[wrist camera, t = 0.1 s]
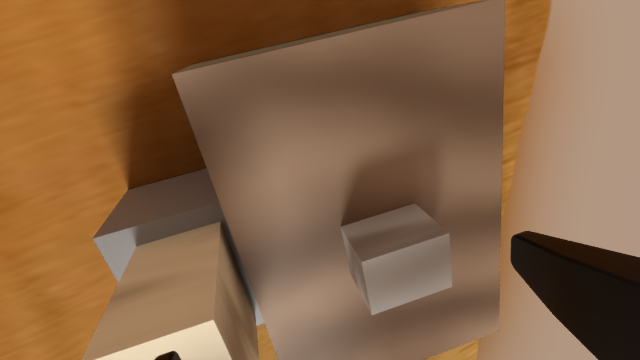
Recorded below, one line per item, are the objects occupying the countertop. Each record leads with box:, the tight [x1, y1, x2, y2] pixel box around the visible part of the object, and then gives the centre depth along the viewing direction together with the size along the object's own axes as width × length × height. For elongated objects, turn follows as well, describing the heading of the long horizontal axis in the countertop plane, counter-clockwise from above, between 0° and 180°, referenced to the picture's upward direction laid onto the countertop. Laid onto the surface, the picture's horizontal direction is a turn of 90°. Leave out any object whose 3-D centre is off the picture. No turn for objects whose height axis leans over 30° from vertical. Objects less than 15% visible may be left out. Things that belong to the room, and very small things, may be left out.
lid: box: [172, 0, 505, 360], centre depth 17 cm, size 20×14×4 cm
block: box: [82, 221, 259, 360], centre depth 14 cm, size 6×4×6 cm, turn 12°
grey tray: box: [93, 0, 485, 326], centre depth 21 cm, size 20×20×6 cm
